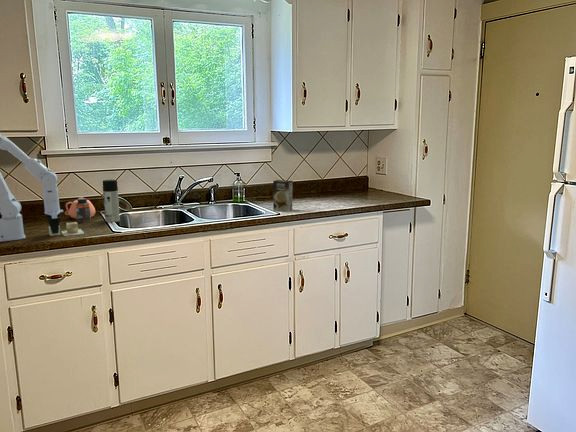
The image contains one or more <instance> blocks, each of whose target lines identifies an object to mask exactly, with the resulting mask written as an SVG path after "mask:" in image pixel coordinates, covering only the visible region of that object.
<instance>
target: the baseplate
mask: <svg viewBox="0 0 576 432" xmlns="http://www.w3.org/2000/svg"><path fill="white" fill-rule="evenodd" d="M60 233H62V235H63V236H64V237H65V236H75V235H84V234H85V232H84V231H83V230H82V228H78V233H71V234H68V233H67V230H60Z"/></svg>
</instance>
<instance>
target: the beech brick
mask: <svg viewBox="0 0 576 432" xmlns="http://www.w3.org/2000/svg"><path fill="white" fill-rule="evenodd" d="M65 226H66V231H67V233H68V234H71V233H78V229H79V227H78V226H79V225H78V221H74V222H66V225H65Z"/></svg>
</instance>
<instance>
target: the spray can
mask: <svg viewBox="0 0 576 432" xmlns="http://www.w3.org/2000/svg"><path fill="white" fill-rule="evenodd" d="M102 193H103V207H104V210H103V211H104V220H105V222H107V223H108V222H109V223H118V222H120V220H121V219H120V203H119V200H120V199H119V188H118V180H117V179H105V180H104V179H103V180H102Z"/></svg>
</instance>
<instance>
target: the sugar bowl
mask: <svg viewBox="0 0 576 432" xmlns="http://www.w3.org/2000/svg"><path fill="white" fill-rule="evenodd" d="M80 198H81V197H78V198H77V199H75V200H74V201H68V202H66V203H65V208H66V211H65V212H64V214H65V215H66V216H70V217H71V218H72V219H75V220H77V210H76V204H77V203H78V199H80ZM87 203H89V206H90V216H91V218H92V217H93V216H95V215H96V208H95V206H94V205H93V203H92V202H91V201H90V200H89V199H87ZM70 204H71V205H70ZM68 205H70V206H69V207H68Z"/></svg>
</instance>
